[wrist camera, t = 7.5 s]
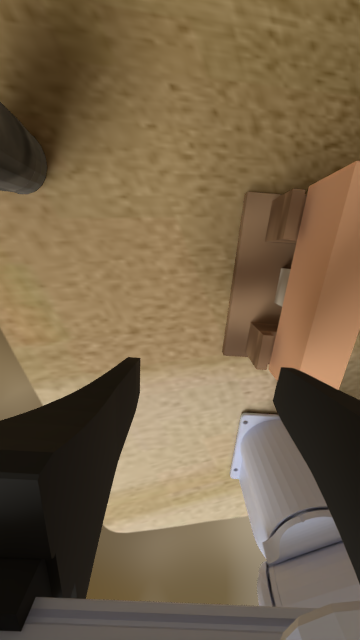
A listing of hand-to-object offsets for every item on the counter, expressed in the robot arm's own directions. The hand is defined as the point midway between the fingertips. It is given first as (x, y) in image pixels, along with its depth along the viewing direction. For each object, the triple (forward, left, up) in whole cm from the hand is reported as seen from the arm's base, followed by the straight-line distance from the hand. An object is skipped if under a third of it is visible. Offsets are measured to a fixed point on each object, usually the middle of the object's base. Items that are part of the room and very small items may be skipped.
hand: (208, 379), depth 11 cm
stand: (+4, -8, -10) cm, 13 cm away
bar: (+4, -8, -7) cm, 11 cm away
